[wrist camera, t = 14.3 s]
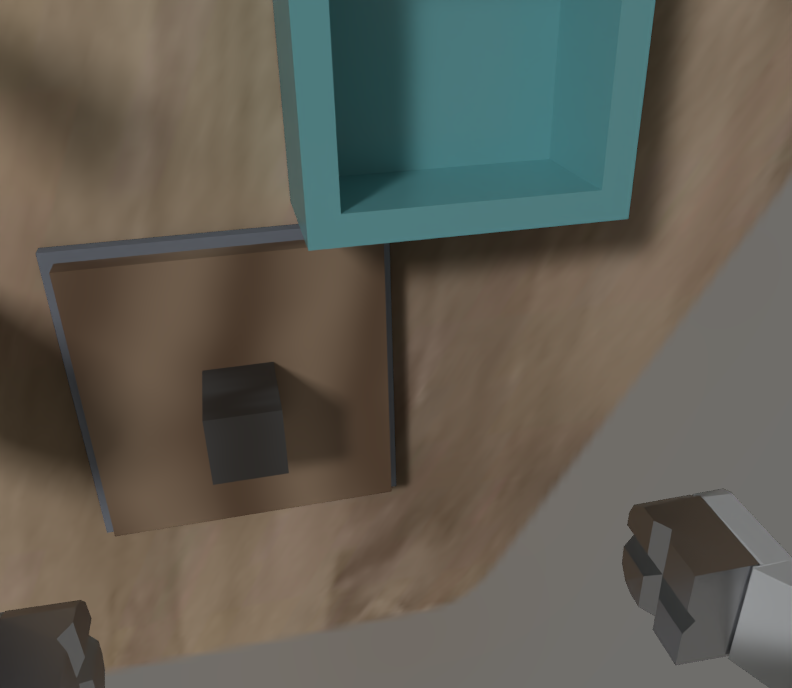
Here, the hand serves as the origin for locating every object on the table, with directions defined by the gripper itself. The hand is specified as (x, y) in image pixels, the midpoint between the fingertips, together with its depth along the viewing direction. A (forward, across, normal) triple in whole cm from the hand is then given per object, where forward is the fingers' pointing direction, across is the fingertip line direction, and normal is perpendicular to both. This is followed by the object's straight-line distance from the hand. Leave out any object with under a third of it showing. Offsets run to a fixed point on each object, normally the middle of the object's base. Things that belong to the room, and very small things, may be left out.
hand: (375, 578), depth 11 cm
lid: (+22, +2, +9) cm, 24 cm away
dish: (+23, -7, -5) cm, 24 cm away
